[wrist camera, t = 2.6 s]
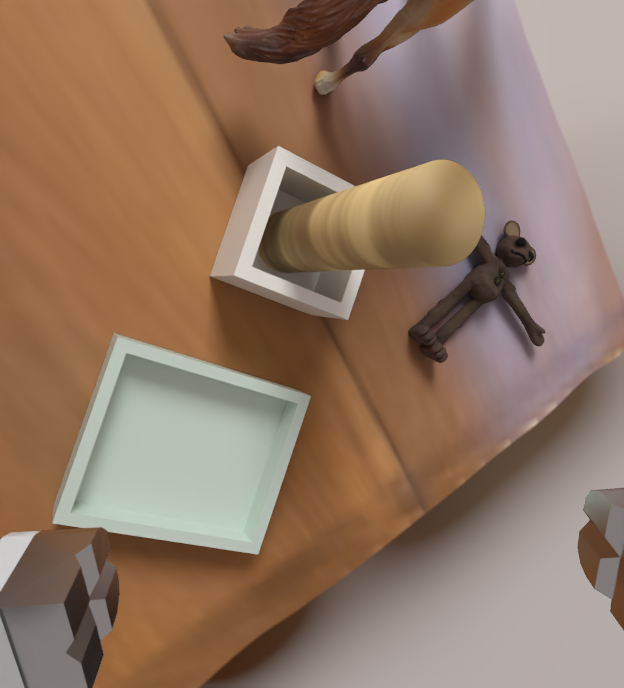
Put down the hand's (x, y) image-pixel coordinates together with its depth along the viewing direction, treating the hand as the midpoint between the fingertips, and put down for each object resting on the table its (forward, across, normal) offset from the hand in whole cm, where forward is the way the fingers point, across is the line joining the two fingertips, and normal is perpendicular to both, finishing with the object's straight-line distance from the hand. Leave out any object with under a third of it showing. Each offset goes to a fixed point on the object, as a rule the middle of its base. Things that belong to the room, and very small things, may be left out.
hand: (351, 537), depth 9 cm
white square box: (+33, -1, -1) cm, 33 cm away
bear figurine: (+38, +15, -7) cm, 42 cm away
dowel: (+32, -1, -1) cm, 32 cm away
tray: (+26, -9, -14) cm, 31 cm away
